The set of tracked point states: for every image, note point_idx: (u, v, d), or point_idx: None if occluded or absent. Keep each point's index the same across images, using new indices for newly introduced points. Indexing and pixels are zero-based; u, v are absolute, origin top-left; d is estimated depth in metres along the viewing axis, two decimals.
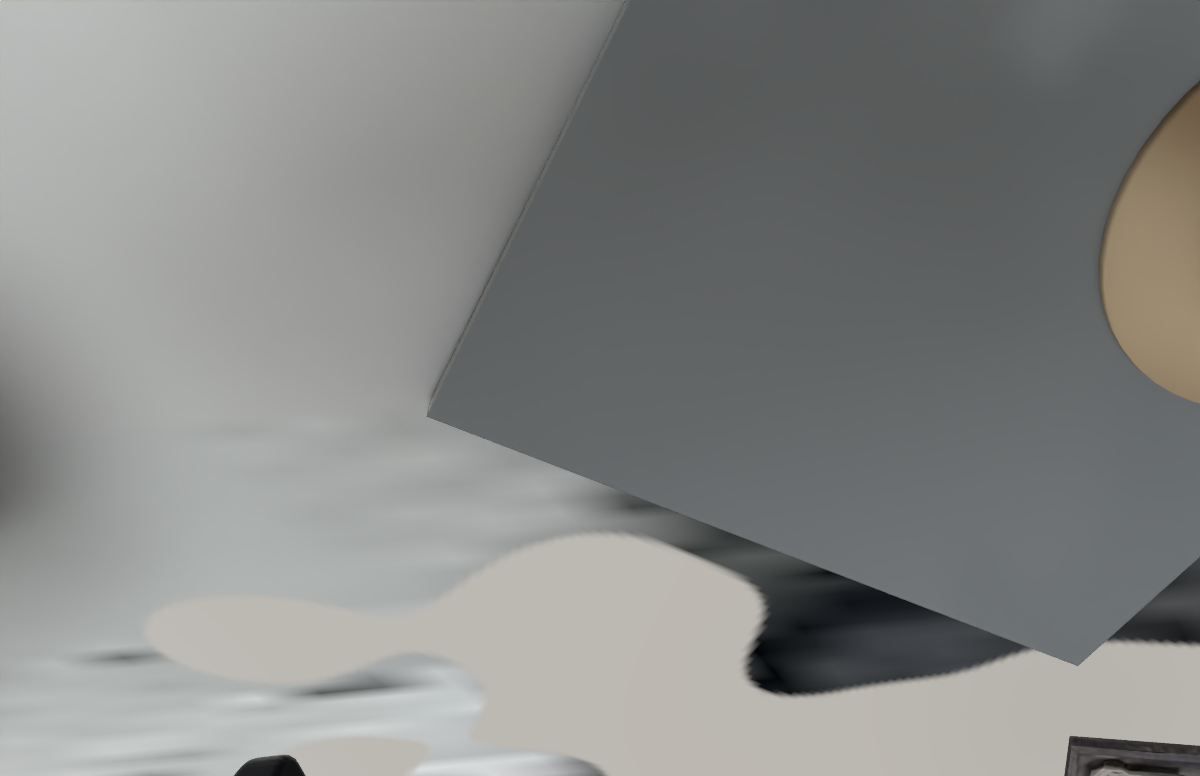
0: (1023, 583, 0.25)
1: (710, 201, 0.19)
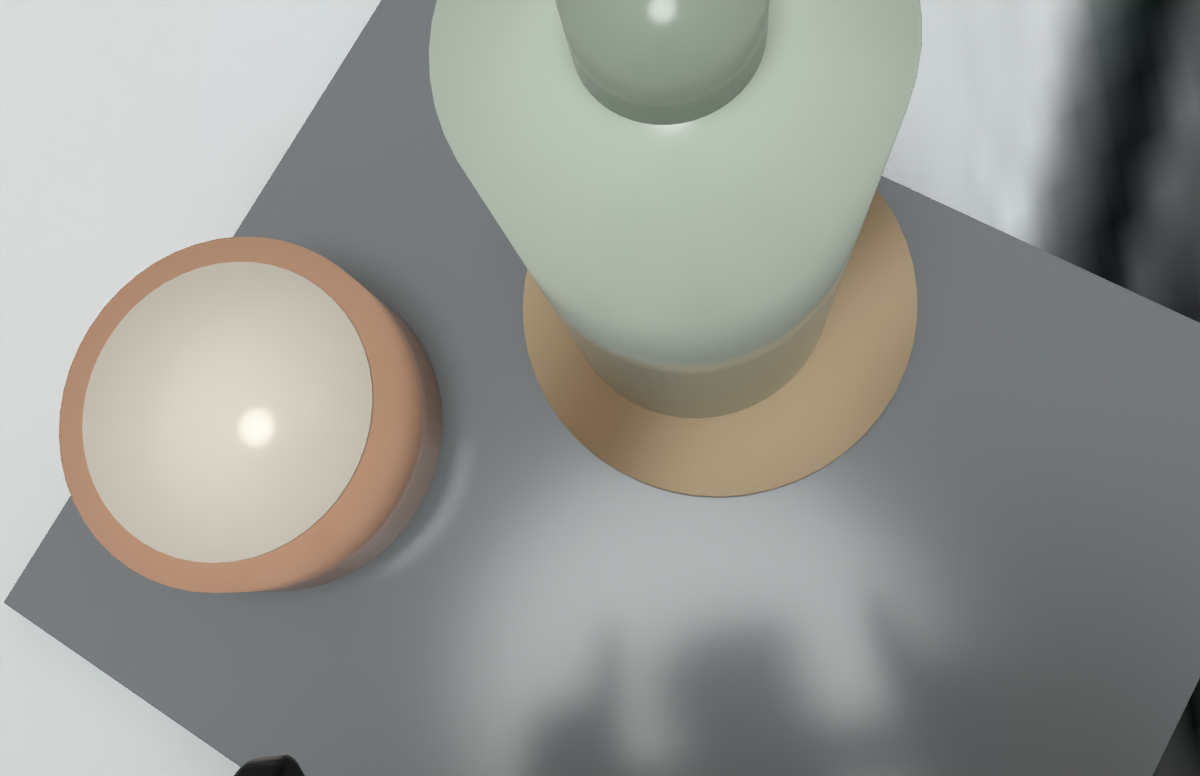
0: (1186, 486, 0.21)
1: None
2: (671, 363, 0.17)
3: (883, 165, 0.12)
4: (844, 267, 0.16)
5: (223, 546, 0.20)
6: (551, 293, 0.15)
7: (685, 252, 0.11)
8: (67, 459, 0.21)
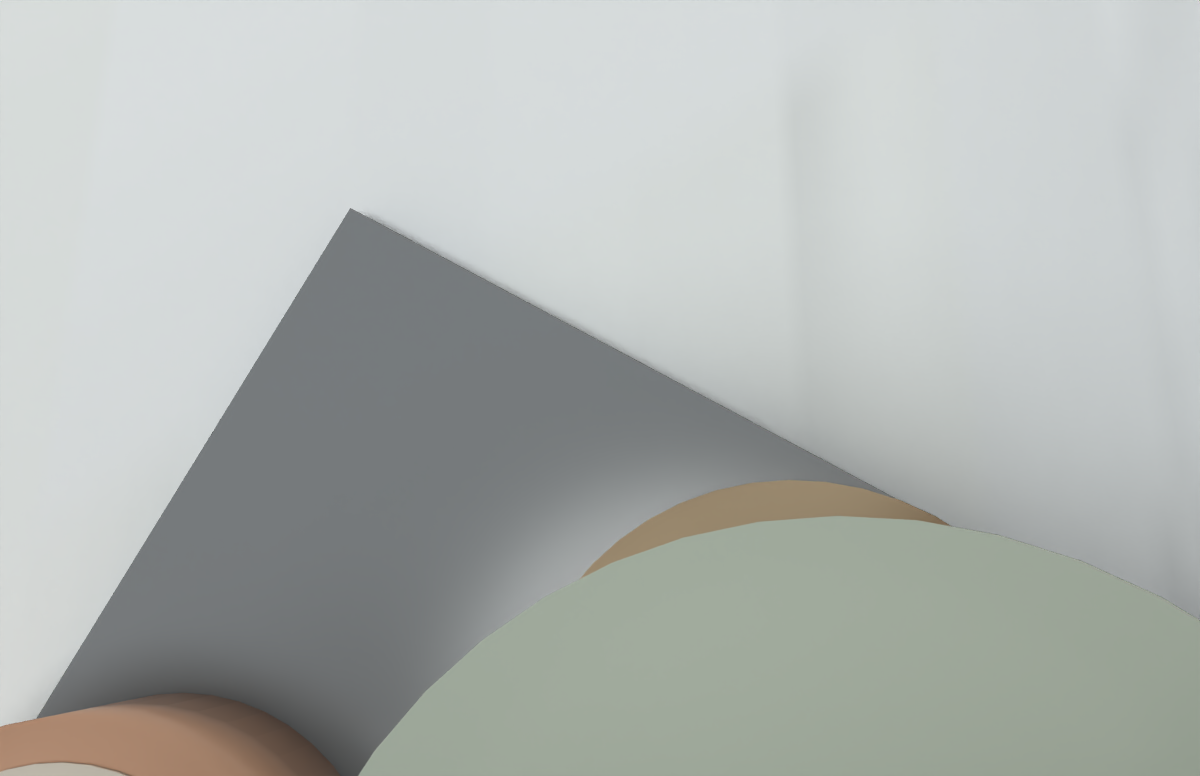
0: None
1: None
2: None
3: None
4: None
5: None
6: None
7: None
8: None
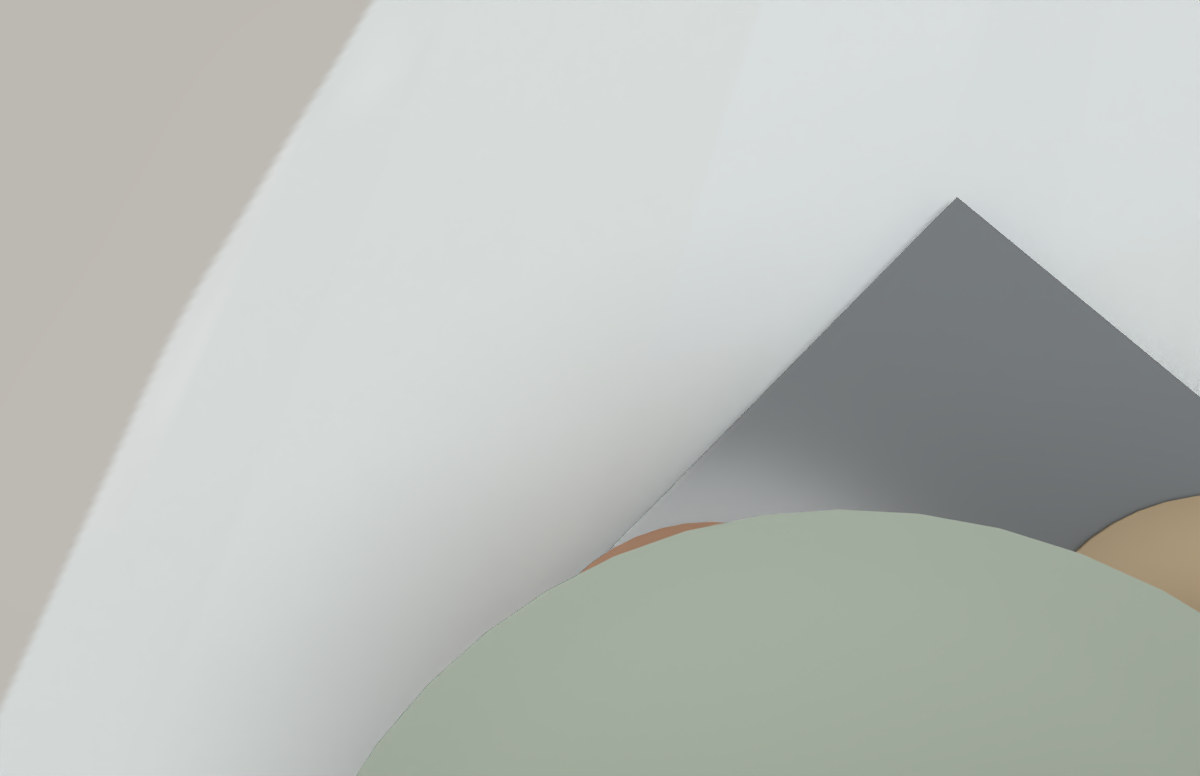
0: None
1: None
2: None
3: None
4: None
5: None
6: None
7: None
8: None
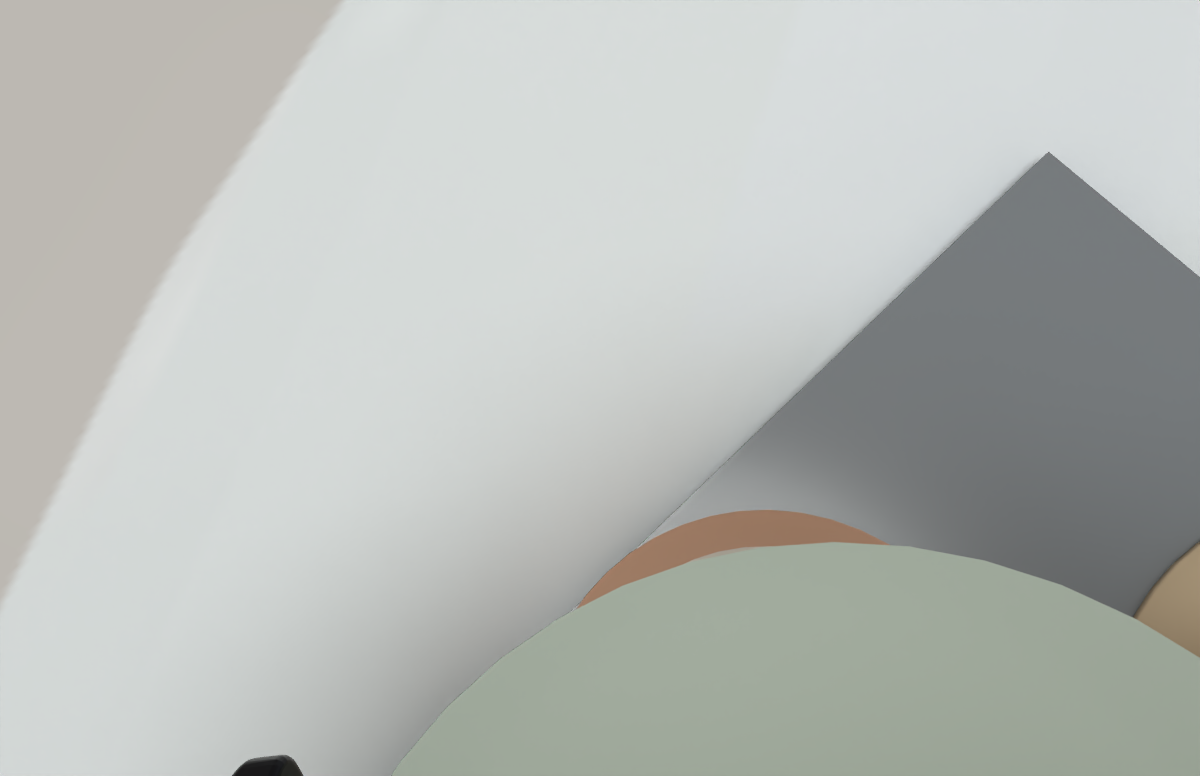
0: None
1: None
2: None
3: None
4: None
5: None
6: None
7: None
8: None
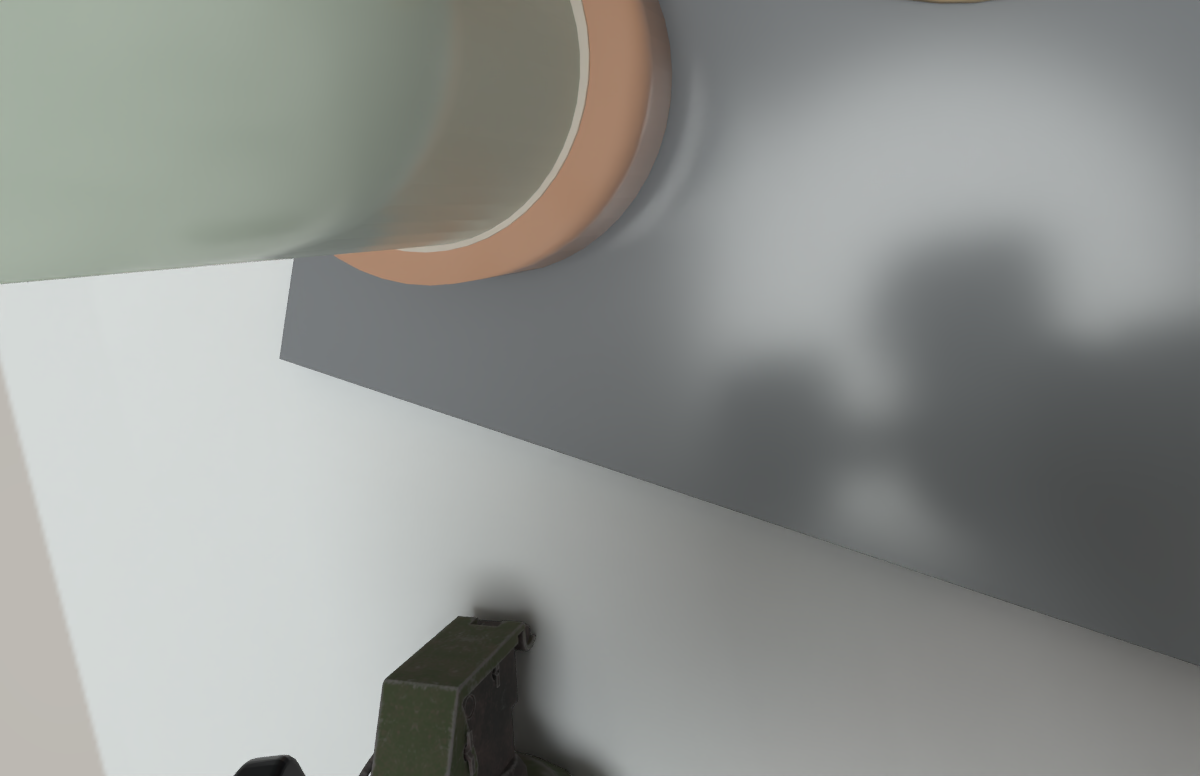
0: None
1: (1082, 451, 0.18)
2: (290, 238, 0.12)
3: None
4: None
5: None
6: None
7: None
8: None
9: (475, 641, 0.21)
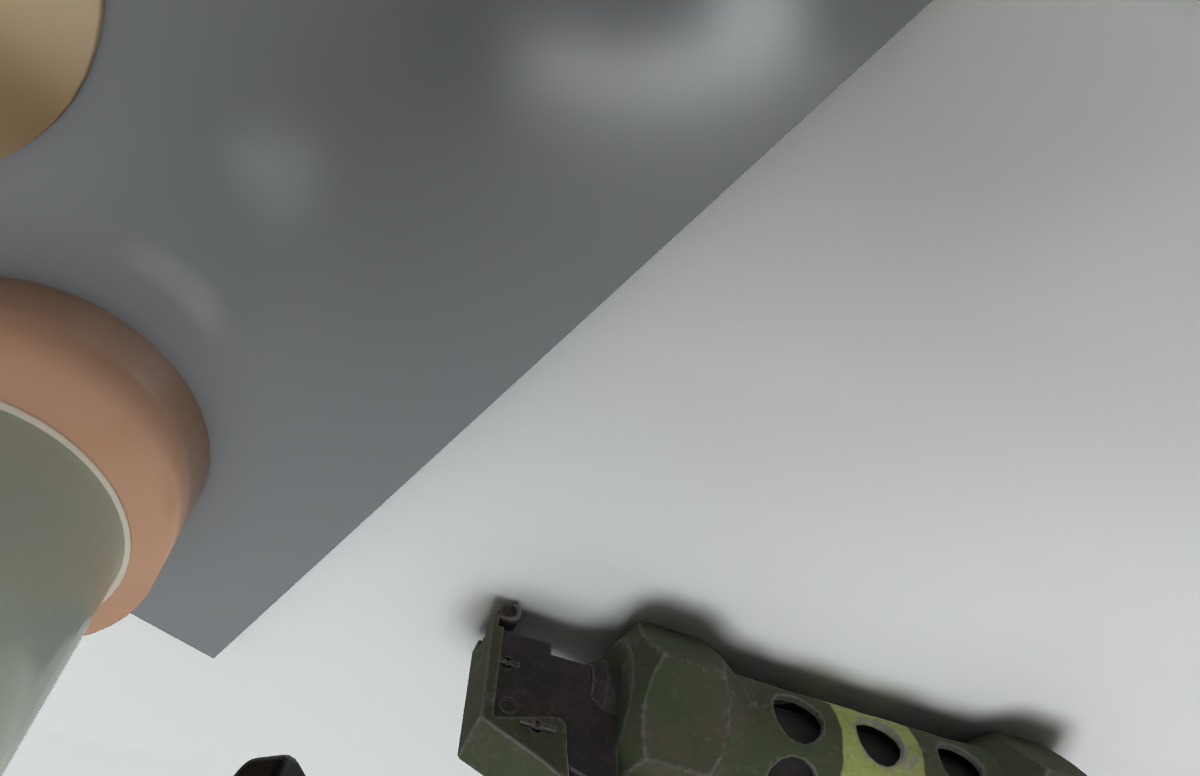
0: None
1: (538, 150, 0.19)
2: None
3: None
4: None
5: None
6: None
7: None
8: None
9: (480, 663, 0.25)
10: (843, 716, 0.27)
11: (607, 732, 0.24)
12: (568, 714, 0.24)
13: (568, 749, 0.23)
